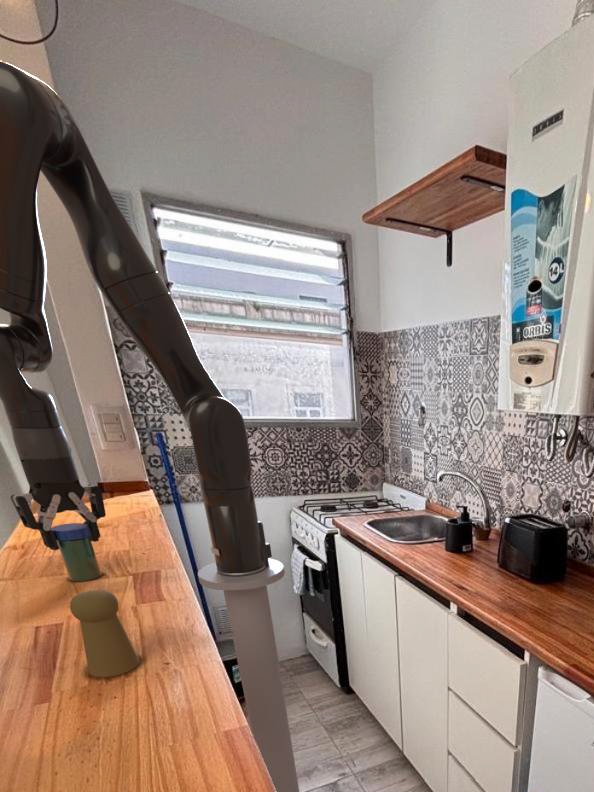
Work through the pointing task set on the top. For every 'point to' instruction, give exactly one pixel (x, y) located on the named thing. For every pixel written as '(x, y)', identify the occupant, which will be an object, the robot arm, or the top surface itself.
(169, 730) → the top surface
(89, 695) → the top surface
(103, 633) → the cork
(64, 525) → the jar lid
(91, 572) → the jam jar
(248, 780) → the top surface
